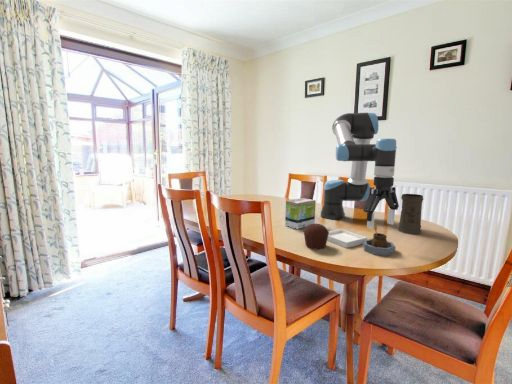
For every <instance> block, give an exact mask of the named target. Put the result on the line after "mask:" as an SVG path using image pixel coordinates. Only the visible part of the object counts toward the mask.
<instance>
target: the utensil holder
mask: <svg viewBox="0 0 512 384" xmlns="http://www.w3.org/2000/svg"><path fill="white" fill-rule="evenodd" d="M373 230H375V233H374V234H373V236H372V237H373V238H371V239H372V246H374V247H379V248H387V241H388V240H387V235H386V233H387V227H386V226H383V230H384V232H383V231H382V229H380V231H379V232H377V230H378V225H377V222H376V221H374V229H373Z"/></svg>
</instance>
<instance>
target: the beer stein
mask: <svg viewBox="0 0 512 384" xmlns="http://www.w3.org/2000/svg"><path fill="white" fill-rule="evenodd" d="M400 198H401V211H400V217H399V218H400V219H399V222H398V227H397V230H398V232H400V233H404V234H408V235H418V234H421V233H422V229H421V228H422V225H421V224H422V208H423V206H422V204H423V201H424V196H423V195H422V194H417V193H416V194H415V193H403V194H401V197H400Z"/></svg>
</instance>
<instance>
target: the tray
mask: <svg viewBox="0 0 512 384" xmlns="http://www.w3.org/2000/svg"><path fill="white" fill-rule="evenodd" d="M328 232H329V234H328V238H327V242H330V243H332V244H335V245H338V246H340V247H342V248H344V249H348V248H352V247H356V246H359V245H363V242H364V240H368V237H367V236H364V235H361V234H358V233H355V232H352V231H349V230H346V229H343V228H338V229H334V230H333V229H332V230H328Z"/></svg>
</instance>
